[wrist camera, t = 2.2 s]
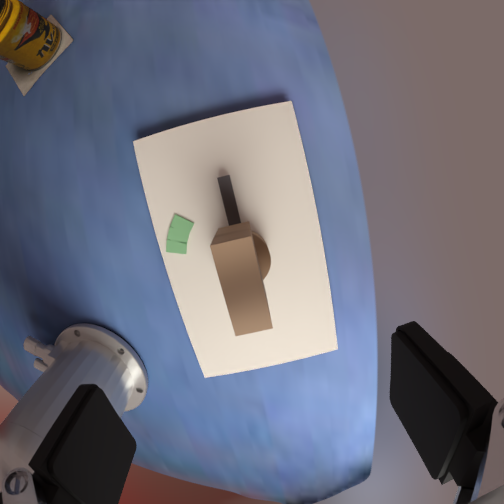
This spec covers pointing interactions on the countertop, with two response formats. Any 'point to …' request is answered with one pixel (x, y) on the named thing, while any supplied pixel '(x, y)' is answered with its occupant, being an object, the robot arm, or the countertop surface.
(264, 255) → the brown piece
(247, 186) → the white rectangular slab
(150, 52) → the countertop surface
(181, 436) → the countertop surface
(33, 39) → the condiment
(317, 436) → the countertop surface
